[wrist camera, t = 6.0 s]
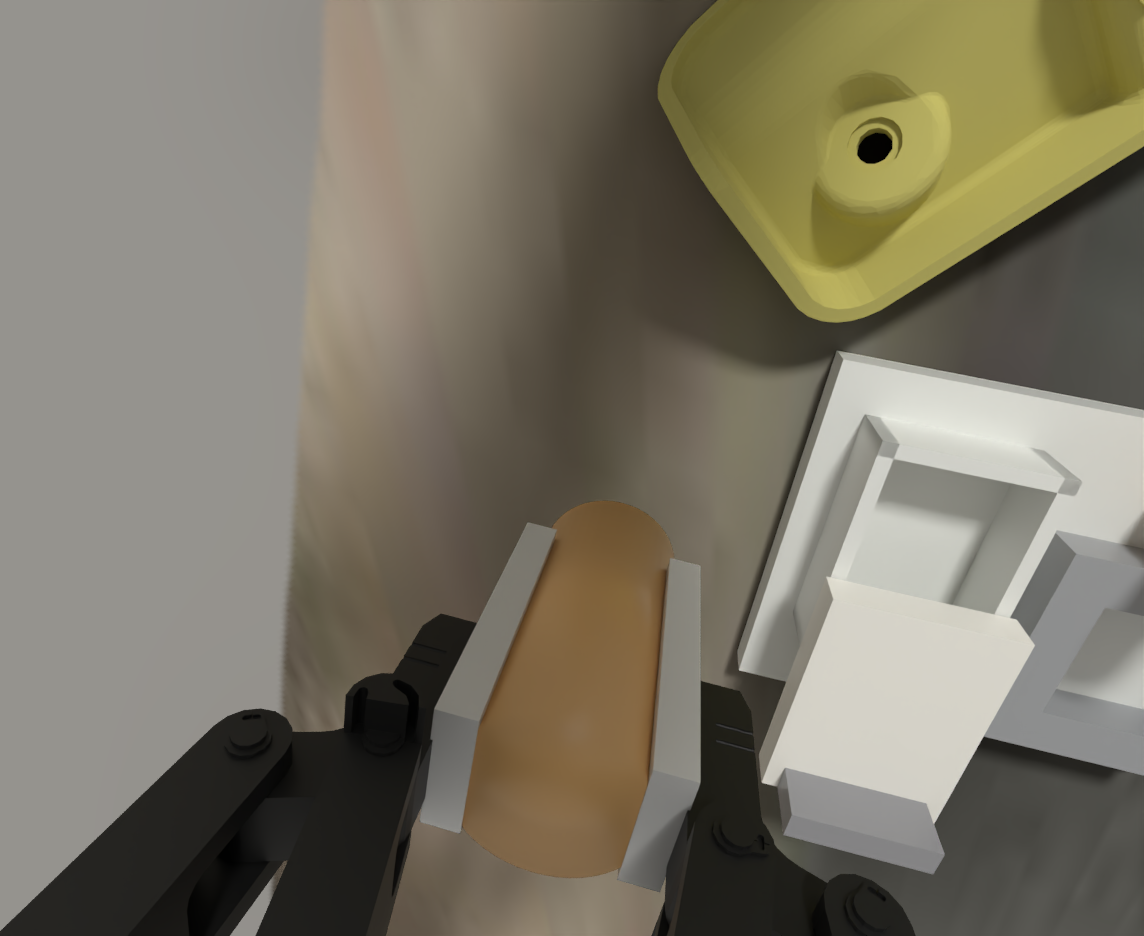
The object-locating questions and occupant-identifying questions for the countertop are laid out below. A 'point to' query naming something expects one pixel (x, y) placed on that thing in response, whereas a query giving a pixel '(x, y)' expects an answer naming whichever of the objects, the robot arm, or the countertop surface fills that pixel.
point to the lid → (885, 718)
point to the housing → (977, 537)
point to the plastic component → (898, 128)
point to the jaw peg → (575, 701)
